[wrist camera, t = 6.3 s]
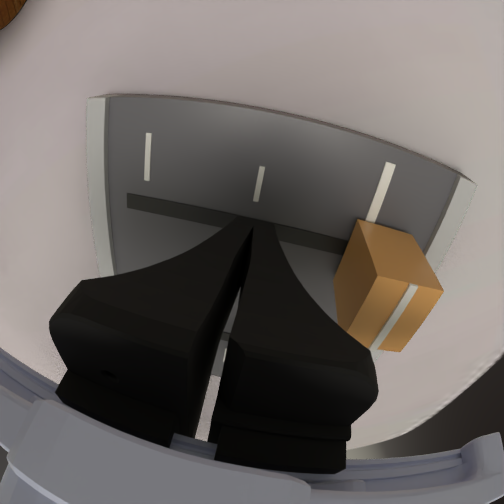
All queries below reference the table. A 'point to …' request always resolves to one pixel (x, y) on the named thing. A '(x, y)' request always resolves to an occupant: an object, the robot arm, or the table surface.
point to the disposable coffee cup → (9, 10)
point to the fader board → (254, 187)
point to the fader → (383, 287)
